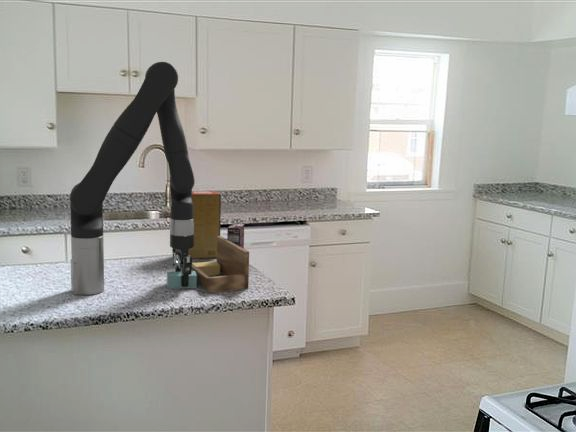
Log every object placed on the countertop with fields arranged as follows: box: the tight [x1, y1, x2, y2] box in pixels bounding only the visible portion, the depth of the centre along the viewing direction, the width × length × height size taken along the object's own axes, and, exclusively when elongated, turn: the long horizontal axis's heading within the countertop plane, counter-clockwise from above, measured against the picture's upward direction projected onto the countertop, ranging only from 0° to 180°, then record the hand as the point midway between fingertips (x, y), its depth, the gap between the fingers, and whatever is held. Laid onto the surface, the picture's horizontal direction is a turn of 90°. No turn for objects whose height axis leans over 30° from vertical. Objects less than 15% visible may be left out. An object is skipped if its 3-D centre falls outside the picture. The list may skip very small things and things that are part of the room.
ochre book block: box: [192, 261, 221, 276], centre depth 203 cm, size 9×6×4 cm, turn 110°
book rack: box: [186, 235, 250, 293], centre depth 194 cm, size 13×26×12 cm, turn 27°
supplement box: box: [226, 223, 245, 249], centre depth 209 cm, size 9×5×16 cm, turn 174°
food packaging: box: [188, 190, 222, 260], centre depth 226 cm, size 13×9×25 cm
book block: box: [166, 271, 198, 289], centre depth 187 cm, size 9×6×4 cm, turn 104°
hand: (181, 283), depth 187 cm, fingers closed on book block, 6 cm apart
